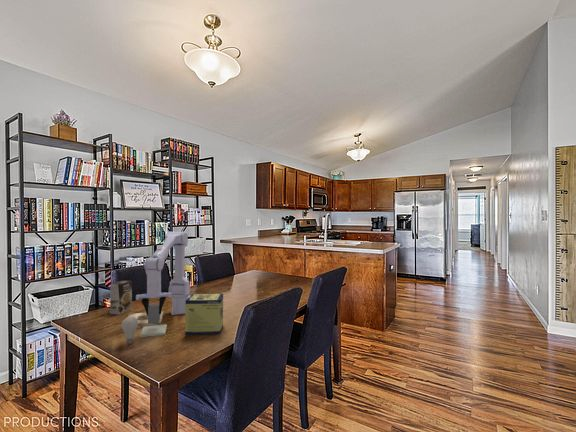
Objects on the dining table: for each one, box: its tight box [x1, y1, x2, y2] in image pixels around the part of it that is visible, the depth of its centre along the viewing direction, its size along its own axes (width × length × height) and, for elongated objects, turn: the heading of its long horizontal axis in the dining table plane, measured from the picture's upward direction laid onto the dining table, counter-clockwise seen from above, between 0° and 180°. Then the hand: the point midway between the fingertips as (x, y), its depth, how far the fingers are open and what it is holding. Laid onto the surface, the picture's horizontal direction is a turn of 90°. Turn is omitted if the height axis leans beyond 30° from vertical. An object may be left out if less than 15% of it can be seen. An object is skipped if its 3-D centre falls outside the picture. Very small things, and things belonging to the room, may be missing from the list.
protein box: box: [184, 293, 224, 336], centre depth 140 cm, size 10×16×16 cm
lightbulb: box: [120, 316, 138, 345], centre depth 125 cm, size 6×6×11 cm
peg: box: [148, 302, 160, 323], centre depth 138 cm, size 4×4×8 cm
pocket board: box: [127, 311, 164, 329], centre depth 150 cm, size 16×16×2 cm
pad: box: [139, 323, 168, 338], centre depth 138 cm, size 10×10×1 cm
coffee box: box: [109, 280, 133, 316], centre depth 165 cm, size 9×6×16 cm
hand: (154, 314), depth 138 cm, fingers closed on peg, 4 cm apart
